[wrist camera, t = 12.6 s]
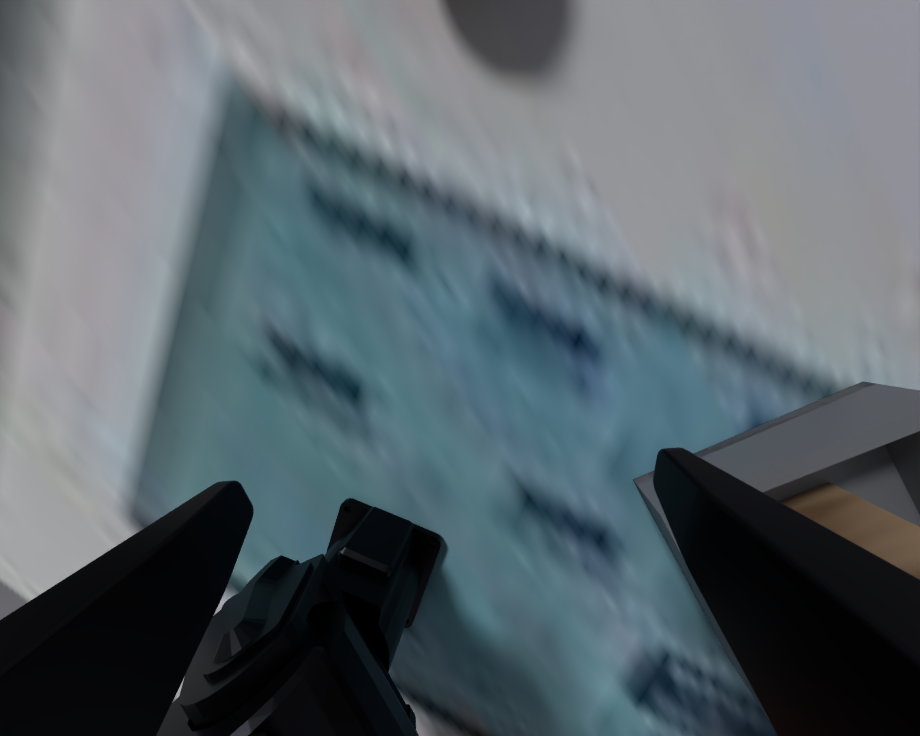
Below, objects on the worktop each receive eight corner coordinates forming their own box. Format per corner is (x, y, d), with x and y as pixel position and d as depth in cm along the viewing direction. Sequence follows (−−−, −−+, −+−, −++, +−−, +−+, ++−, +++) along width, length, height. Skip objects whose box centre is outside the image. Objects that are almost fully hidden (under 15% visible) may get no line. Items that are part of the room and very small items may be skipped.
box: (729, 660, 19) (776, 731, 16) (633, 479, 19) (659, 513, 16) (966, 586, 17) (1080, 652, 14) (863, 381, 17) (953, 396, 13)
